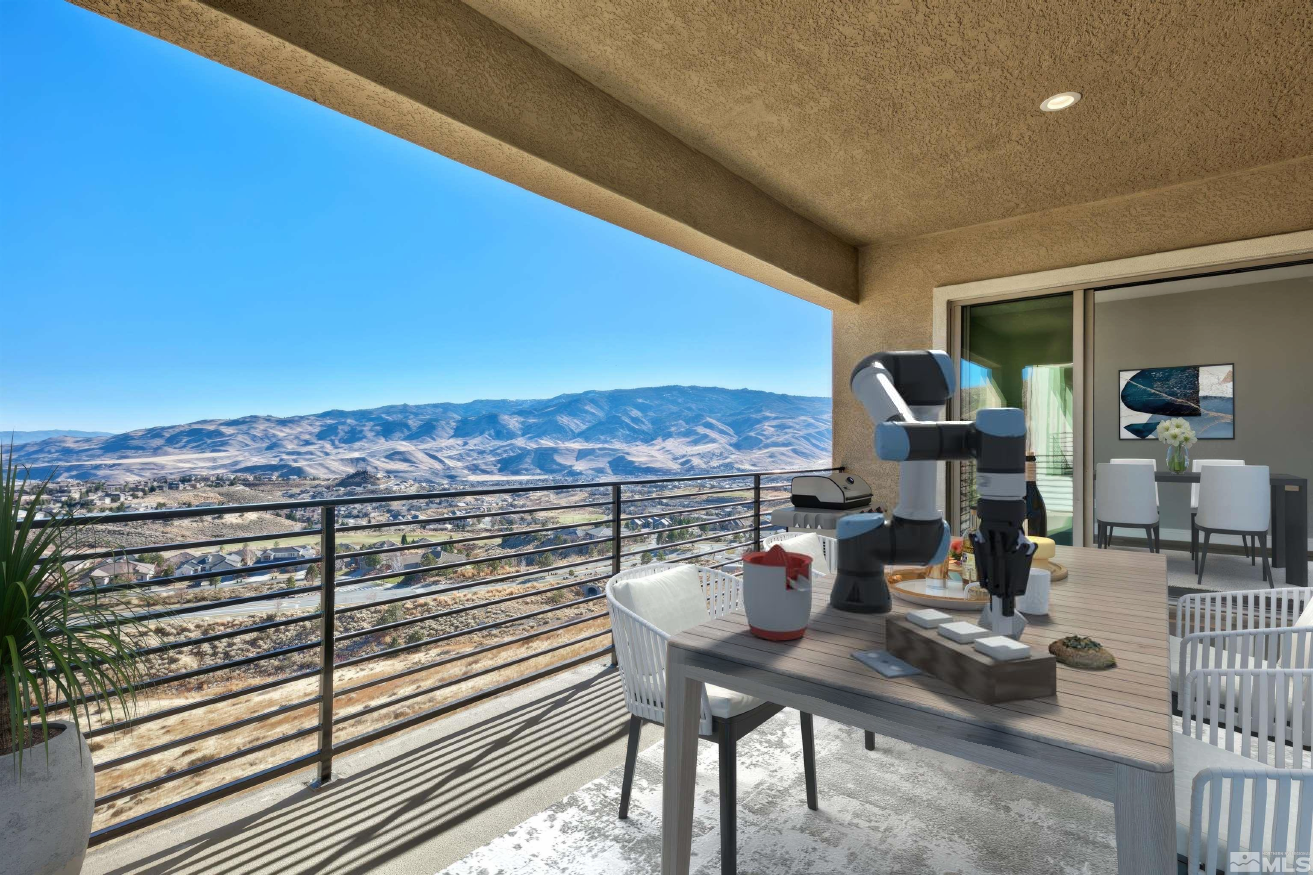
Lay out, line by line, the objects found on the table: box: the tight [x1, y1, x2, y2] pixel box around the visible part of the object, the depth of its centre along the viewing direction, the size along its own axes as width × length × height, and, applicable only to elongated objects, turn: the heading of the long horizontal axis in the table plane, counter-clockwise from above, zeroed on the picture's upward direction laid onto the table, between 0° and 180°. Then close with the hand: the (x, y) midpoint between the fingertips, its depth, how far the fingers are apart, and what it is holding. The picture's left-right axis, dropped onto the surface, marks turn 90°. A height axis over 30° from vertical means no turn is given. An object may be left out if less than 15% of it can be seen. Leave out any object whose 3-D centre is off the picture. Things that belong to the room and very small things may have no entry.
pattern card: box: [850, 649, 922, 679], centre depth 121 cm, size 12×7×1 cm, turn 16°
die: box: [976, 602, 1029, 642], centre depth 134 cm, size 8×9×10 cm
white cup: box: [1014, 567, 1052, 616], centre depth 155 cm, size 8×8×10 cm
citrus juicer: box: [741, 543, 814, 642], centre depth 139 cm, size 16×17×20 cm
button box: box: [885, 612, 1057, 706], centre depth 117 cm, size 27×14×6 cm, turn 16°
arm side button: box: [906, 608, 953, 628], centre depth 126 cm, size 6×6×3 cm
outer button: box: [974, 636, 1030, 661], centre depth 109 cm, size 6×6×3 cm
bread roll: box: [1048, 634, 1117, 669], centre depth 123 cm, size 11×11×5 cm
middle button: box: [938, 621, 989, 643], centre depth 117 cm, size 6×6×3 cm
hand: (1002, 633), depth 109 cm, fingers closed
